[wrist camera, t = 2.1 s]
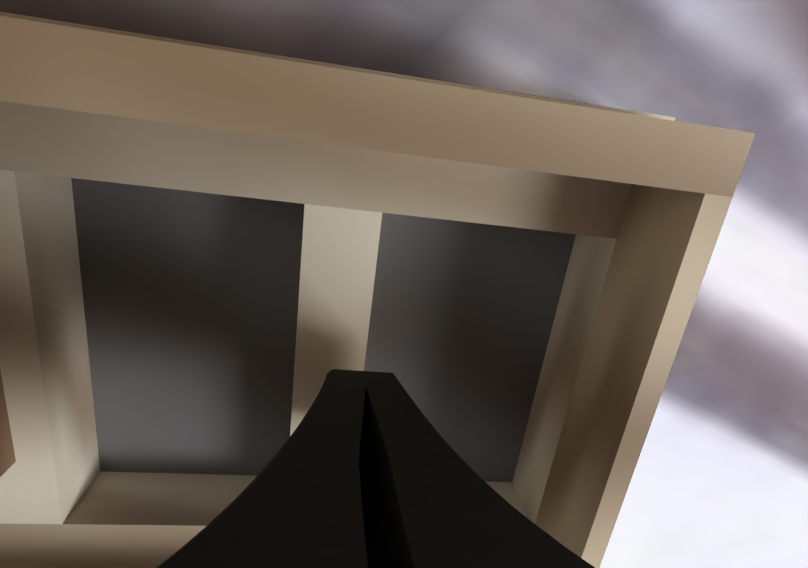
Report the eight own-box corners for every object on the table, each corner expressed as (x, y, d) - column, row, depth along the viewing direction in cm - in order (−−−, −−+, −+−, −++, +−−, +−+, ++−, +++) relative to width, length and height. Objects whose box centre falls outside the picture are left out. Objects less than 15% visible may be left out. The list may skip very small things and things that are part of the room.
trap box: (507, 537, 15) (560, 675, 11) (-404, 530, 11) (-770, 727, 8) (619, 118, 11) (761, 117, 7) (-753, -94, 7) (-1903, -316, 4)
